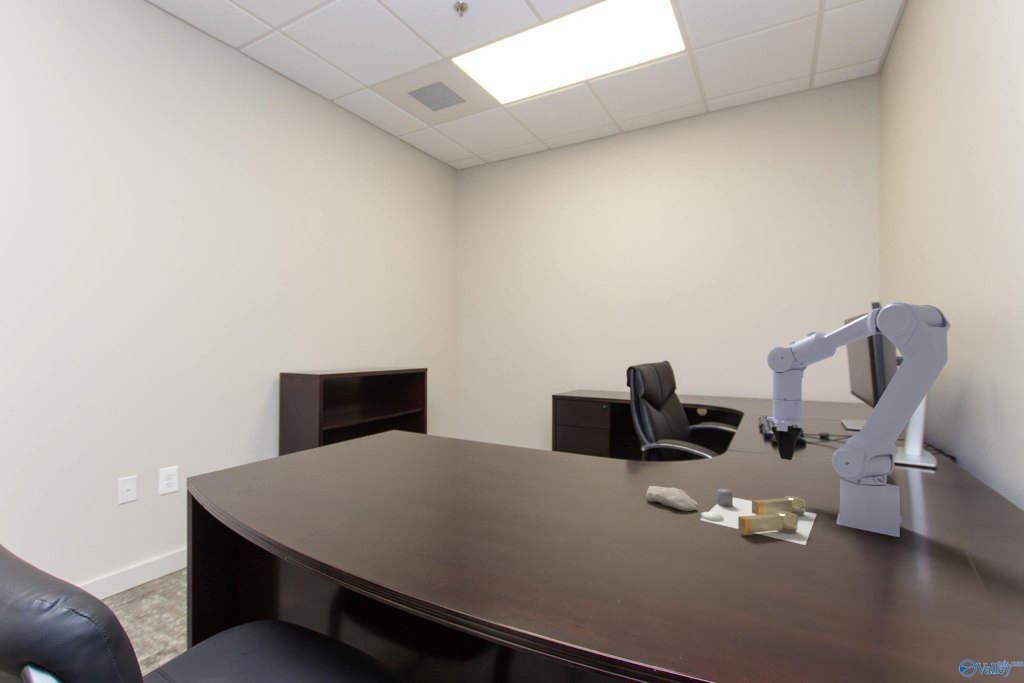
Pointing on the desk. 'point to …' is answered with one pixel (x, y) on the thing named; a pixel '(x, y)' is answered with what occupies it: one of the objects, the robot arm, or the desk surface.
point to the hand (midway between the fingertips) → (786, 458)
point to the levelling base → (734, 507)
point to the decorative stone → (671, 498)
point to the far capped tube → (778, 505)
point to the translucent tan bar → (768, 522)
